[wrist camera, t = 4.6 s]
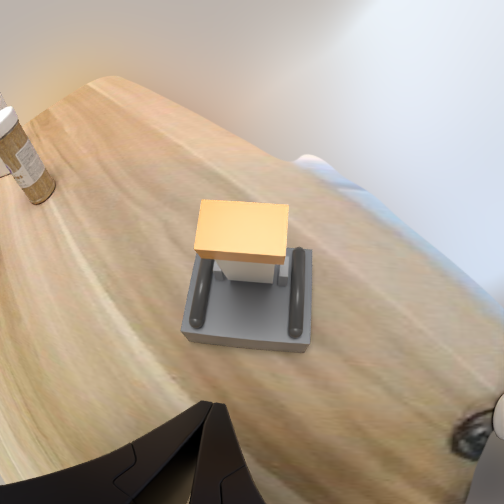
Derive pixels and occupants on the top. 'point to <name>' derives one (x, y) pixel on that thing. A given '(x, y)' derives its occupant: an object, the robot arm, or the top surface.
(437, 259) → the top surface
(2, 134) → the sprinkles bottle
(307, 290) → the grey railed base plate
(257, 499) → the robot arm
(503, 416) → the drinking glass
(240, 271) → the lever
